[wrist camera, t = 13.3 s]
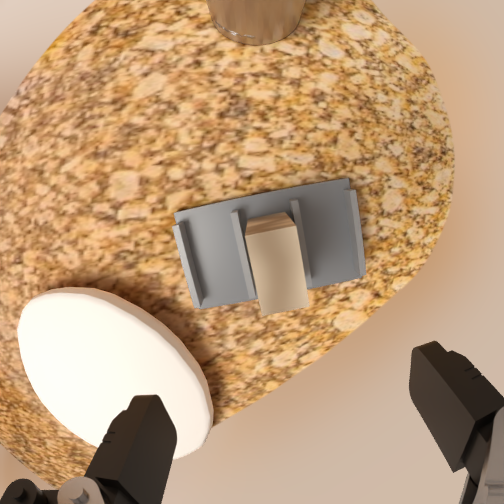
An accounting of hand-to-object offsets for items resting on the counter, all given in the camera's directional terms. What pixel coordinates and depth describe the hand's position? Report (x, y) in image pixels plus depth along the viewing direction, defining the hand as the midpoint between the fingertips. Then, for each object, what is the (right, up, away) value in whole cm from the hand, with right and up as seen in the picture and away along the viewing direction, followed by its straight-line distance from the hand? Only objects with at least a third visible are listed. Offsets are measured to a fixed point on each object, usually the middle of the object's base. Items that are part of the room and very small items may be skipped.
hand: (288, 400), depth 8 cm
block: (+1, +5, +21) cm, 21 cm away
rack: (+1, +5, +22) cm, 22 cm away
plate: (-19, -12, +27) cm, 35 cm away
